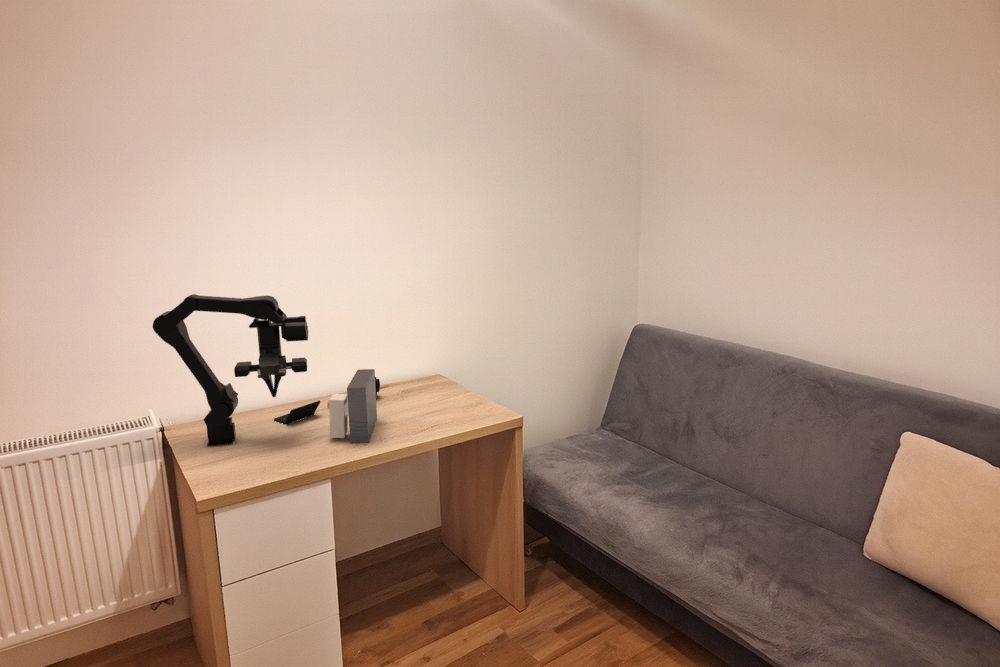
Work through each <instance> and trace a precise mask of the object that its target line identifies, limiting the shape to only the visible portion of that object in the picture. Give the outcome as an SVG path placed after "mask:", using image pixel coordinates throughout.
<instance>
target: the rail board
mask: <svg viewBox="0 0 1000 667" xmlns="http://www.w3.org/2000/svg"><path fill="white" fill-rule="evenodd" d="M375 370H376V369H374V368H372V369H371V368H370V369H369V368H368V369H367V368H366V369H365V368H363V369H362V368H361V369H357V370H356V371H355V373H354V375H353V377H352V379H351V380H350V382H349V384H348V386H346V392H347V393H346V395H347V402H346V403H345V405H344V409H345V416H347V417H348V425H349V428H348V429H349V442H350V443H349V444H369V443H370V441H371V438H372V436H373V433H374V430H375V427H376V425H375V424H377V422H378V410H377V409H378V407H377V397H376V387H375V377H376V371H375Z"/></svg>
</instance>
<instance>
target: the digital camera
mask: <svg viewBox="0 0 1000 667" xmlns="http://www.w3.org/2000/svg"><path fill="white" fill-rule="evenodd" d="M375 387H376V396H377V397H378V393H379V392H380V389H381V381H380V379H379V378H377V376H375Z"/></svg>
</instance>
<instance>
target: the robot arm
mask: <svg viewBox="0 0 1000 667" xmlns="http://www.w3.org/2000/svg"><path fill="white" fill-rule="evenodd" d="M279 305H280V304H279V302H278V300H277V299H276V298H275V297H273V295H261V296H259V295H258V296H251V297H243V298H240V297H226V296H213V295H212V296H208V295H198V294H194V293H193V294H190V295H188V296H186V297H185V298H184V299H183V301H181V302H180V303H179V304H178V305H177V306H175V307H173V309H171V310H168V311H164V312H163V313H162V314H160V315H158V316H156V318H154V320H153V323H152V330H153V332H154V333H155V334H156V335H157V336H158V337H159V338H160V339H161V340H162V341H163V342H165V344H168V345H169V346H171V347H172V348H173V349H174V350H175V351H176V353H177V354H178V356H179V357H180V358H181V360H182V361H183V363H184V364H185V365H186V367H187V369H188V371H190V372H191V374H192V375H193V376H194V379H195V380H196V381H197V383H198V384H199V385H200V386H201V388H202V390H203V391H204V394H205V396H206V402H207V404H208V406H209V408H210V410H209V411H208V412H207V414H206V415H205V417H204V418H203V422H204V423H205V426H206V434H207V443H206V446H207V447H214V446H224V445H231V444H233V442H234V441H235V439H236V436H237V434H236V433H237V432H236V423H235V422H233V417H232V415H233V414H234V412H235V410H236V409H237V407H238V405H239V398H238V395H239V393H238V392H237V391H235V389H234V388H233V385H232V384H231V383H230V382H229V383H228V384H226V385H225V384H224V383H222V382H221V381H220V380H219V379H218V377H217V376H216V375H215V372H213V370H212V368H211V367H210V366H209V364H208V363H207V362H206V359H204V357H203V356H202V355H201V353H200V351H199V350H198V349H197V347H196V345H195V344H194V343H193V342H192V340H191V338H190V336H189V332H188V328H187V325H186V324H185V321H184V320H185V319H187V318H188V317H189V316H190V315H191V314H192V313H193V312H210V313H222V314H223V313H225V314H240V315H245V316H247V317H250V318H252V319H253V321H252V322H251V323H250V324H249V325H248V328H250V329H253V328H254V329H256V331H257V341H258V352H259V356H258V364H252V361H240V362H237V363H236V364H235V366H234V369H233V371H234V377H236V378H243V377H248V376H249V375H250V373H253V372H255V373H256V372H257V378H258V379H261V380H263V381H264V383H265V384H266V386H267V388H268V390H269V392H270V394H271V396H272V398H276V397H277V393H278V388H279V384H280V382H281V380H282V378H283V377H285V376H287V370H292V371H293V373H306V372H308V359H307V358H306V357H294V358H291V361H288V362H287V357H286V355H285V354H284V355H282V345H281V344H282V343H281V338H282V339H283V340H285V341H286V342H301V341H302V342H305V341H309V325H308V323H307V316H306V315H299V316H291V317H290V316H289V317H288V316H287V314H286V313H285V312H284V311H283V310H282V308H280V306H279ZM272 376H273V377H274V380H273V379H272Z"/></svg>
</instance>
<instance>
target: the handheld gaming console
mask: <svg viewBox="0 0 1000 667" xmlns="http://www.w3.org/2000/svg"><path fill="white" fill-rule="evenodd" d="M321 403H322V402H321V400H317V401H315V402H314V401H313V402H311V403H308V404H304V405H302V406H299V407H296V408H293V409H291V410H290V412H289V413H287V414H283V415H280V416H277V417H274V418H273V422H275V421H276V423H278V422H280V423H279V424H281V423H283V424H282V425H285V424H287V425H290V424H292V422H293V423H295V422H294V421H296V422H298V421H301V420H304V419H306V418H309V417H312V416H314V414H315V415H316V412H317V409H318V408H319V405H320V404H321ZM311 415H312V416H311ZM308 416H309V417H308ZM305 417H306V418H305ZM303 418H304V419H303ZM300 419H301V420H300ZM297 420H298V421H297ZM289 423H290V424H289Z"/></svg>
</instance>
